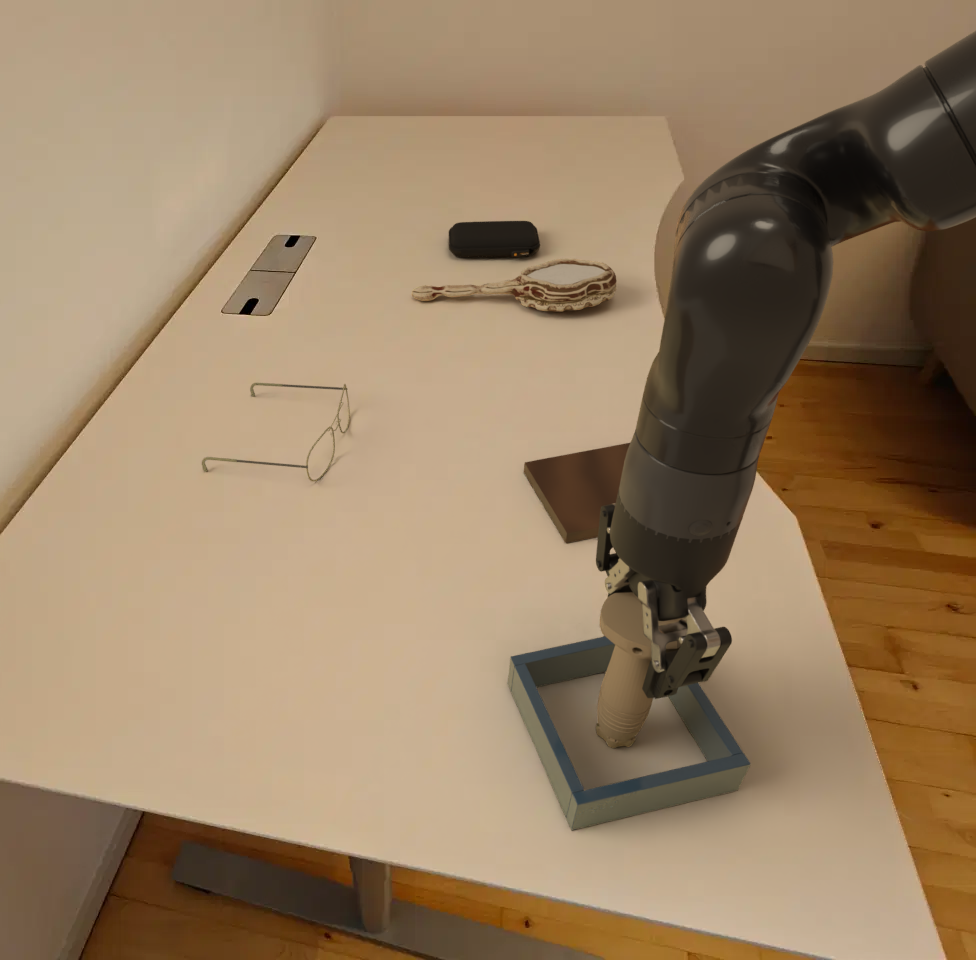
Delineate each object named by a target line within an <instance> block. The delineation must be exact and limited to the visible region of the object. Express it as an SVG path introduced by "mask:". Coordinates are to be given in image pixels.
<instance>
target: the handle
mask: <svg viewBox="0 0 976 960" xmlns="http://www.w3.org/2000/svg"><path fill="white" fill-rule="evenodd" d="M607 597H608V596H607ZM680 619H681V618H679V619H674V620H668V621H658V622H659V626H660V625H665V624H670V623H674V622H678V621H679V620H680ZM599 628H600V632H601V633H602V635H603V637H604V636H606V637H607V638H608V639H609V640H610V641H611V642H613V643H614V644H615V647H614V651H613V654H612V657H611V660H610V663H609V665H608V668H607V671H606V672H604V673H605V674H604V676H603V679H602V682H601V685H600V690H599V693H598V698H597V706H596V707H597V710H596V716H597V722H596V725H595V730H596V735H597V736H598V737H600V738H602V739H603V740H604V741H605V742H606V744H607V747H610V748H612V749H616V748H618V747H627V748H628V747H632V746H633V744H634V743H635V741H636V740H637V737H636V736H637V735H638V734H639V733H640V731H641V730H642V728H643V727H644V724H645V722H646V721H647V718H648V716H649V713H650V711H651V707H652V705H653V701H654V698H647V696H646V695H645V693H644V691H643V690H642V687H643V683H644V680H645V677H646V673H647V670H648V666H649V663H650V661H652V659H651V641H650V640H649V639H647V638H646V637H645V636H644V633H643V614H642V604H641V602H640V601H639V599H638V598H637V597H636V595H635V594H634V593H633V592H630V593H614V594H612V595H610V596H609V597H608V598H606V599H605V600H604V602H603V604H602V606H601V610H600V615H599ZM676 650H677V641H673V642H669V643H668V644H667V645H666V653H667V652H671V651H676Z"/></svg>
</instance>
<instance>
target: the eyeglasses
mask: <svg viewBox="0 0 976 960" xmlns="http://www.w3.org/2000/svg"><path fill="white" fill-rule="evenodd" d="M256 386H263V387H280V388H281V387H282V388H283V387H284V388H301V389H302V388H303V389H319V390H335V391H336V390H338V391H342V392H341V396H340V399H339V403H338V406H337V413H336V414H335V417H334V419H333V421H332V423H331V425H330V426H328V427H327V428H326V429H324V431H323V432H322V433H321V435H320V436H319V437H318V439H316V440H315V442H314V443H313V444H312V446H311V448H310V449H309V451H308V453H307V456H306V460H305V465H303V464H302V465H301V464H290V463H279V462H267V461H258V460H257V461H255V460H243V459H237V458H225V457H213V456H206V457H203V458H202V460H201V467H202V471H203V472H208V471H209V470H208V467H207V465H206V461H218V462H228V463H229V462H230V463H244V464H252V465H253V464H255V465H265V466H278V467H289V468H298V469H299V468H301V469H305V470H306V475H307V478H308V480H309V481H310V482H317V481H319V480H320V479H321V478H322V477H323V476H324V475H325V474H326V473H327V471H328V470H329V468H330V466H331V465H332V462H333V460H334V457H335V452H336V441H335V440H336V439H335V431H337V429H338V428H339V431H340V433H341V434H345V433H346V432H347V431H348V428H349V426H350V420H351V419H350V418H351V411H350V410H351V409H350V401H349V394H348V387H347V385H346V383H344V384H343V386H342V387H339V386H338V387H337V386H322V385H321V386H319V385H301V384H299V385H298V384H285V383H274V382H272V383H271V382H253V383H252V384H251V385H250V388H249V391H250V396H251V397H253V398H255V397H256V393H255V391H254V387H256ZM344 393H345V394H346V401H347V412H348V415H347V416H348V418H347V424H346V428H345V429H344V430H343V429H342V426H341V421H342V418H340V412H341V410H342V408H343V405H344V402H343V398H344ZM336 419H337V420H336ZM334 423H335V425H336V428H335V429H334V428H333V426H334ZM329 431H331V432H330V435H332V444H333V445H332V455H331V458H330V460H329V463H328V466H327V467H326V468H325V470H324V471H323V473H322V474H321V475H320V476H318V478H316V479H312V478H311V476H310V473H309V459H310V456H311V453H312V451H313V450H314V447H315V446H316V445H317V443H319V441H320V440H321V439H322V438H323V436H324V435H325V434H326V433H327V432H329Z"/></svg>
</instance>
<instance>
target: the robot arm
mask: <svg viewBox="0 0 976 960" xmlns="http://www.w3.org/2000/svg"><path fill="white" fill-rule="evenodd" d="M923 64H924V67H923V65H921V64H919V65H917V66H916V67H914V68H912V69H911V70H909V71H908V72H907V73H905V74H904V75H902V76H900V77H899V78H898V79H896V80H895V81H893V82H892V83H891V84H889V85H887V86H886V87H884V88H882V89H881V90H879V91H876V93H873V94H871V95H868V96H867V97H864V98H862V99H859V100H857V101H854V102H852V103H849V104H846V105H844V106H840V107H838V108H835V109H833V110H830V111H828V112H826V113H823V114H822V115H819V116H817V117H815V118H813V119H811V120H808V121H806V122H804V123H802V124H801V123H800V125H797V126H795V127H793V128H790V129H788V130H786V131H784V132H781V133H779V134H777V135H775V136H772V137H771V138H768V139H766V140H764V141H762V142H760V143H758V144H756V145H755V146H752V147H751V148H749V149H747V150H745V151H744V152H742V153H740V154H738V155H737V156H735V157H734V158H732V159H730V160H729V161H727V162H726V163H724V164H723V165H722V166H720V167H719V168H718V169H716V170H715V171H714V172H713V173H711V174H710V175H709V176H707V177H706V178H705V179H704V180H703V181H701V183H700V184H698V186H697V187H696V188H695V189H694V190H693V192H692V193H691V194H690V195H689V196H688V198H687V199H686V201H685V203H684V204H683V207H682V209H681V210H680V212H679V215H678V218H677V223H676V227H675V238H674V247H673V248H674V249H673V259H672V267H671V275H670V282H669V289H668V296H667V302H666V308H665V315H664V320H663V321H664V322H663V326H662V332H661V338H660V343H659V349H658V352H657V354H656V356H655V357H654V359H653V361H652V363H651V366H650V368H649V371H648V374H647V376H646V380H645V384H644V390H643V393H642V397H641V401H640V407H639V411H638V416H637V421H636V426H635V429H634V433H633V435H632V438H631V440H630V442H629V443H630V445H629V447H628V450H627V454H626V457H625V461H624V466H623V471H622V476H621V480H620V485H619V490H618V494H617V499H616V503H613V504H609V505H604V506H601V510H600V520H599V531H598V537H597V543H596V552H595V565H596V568H597V570H598V571H599V572H601V573H602V572H605V574H606V576H607V577H606V578H605V579H604V587H605V590H606V592H607V598H608V597H609V596H610V595H612V594H614V593H630V592H633V593H634V594H635V595H636V597H637V598H638V599H639V601H640V602H641V604H642V614H643V633H644V636H645V637H646V638H647V639H649V640H650V641H651V659H652V661H650V663H649V666H648V670H647V673H646V677H645V680H644V683H643V687H642V690H643V691H644V693H645V695H646V696H647V698H653V699H655V700H657V699H662V698H668V697H669V696H672V695H674V694H676V693H677V690H678V687H682V686H686V685H691V684H695V683H699V684H700V683H703V682H704V683H705V682H708V681H709V679H710V678H711V677H712V675H713V673H714V671H715V670H716V669H717V667H718V665H719V664H720V662H721V661H722V659H723V658H724V657H725V654H726V653H727V651H728V650H729V649H730V647H731V645H732V642H733V638H732V634H731V632H730V630H729V629H728V628H727V627H726V626H720V627H715V628H714V627H713V625H712V623H711V621H710V620H709V618H708V616H707V615H706V613H705V609H706V607H707V602H708V601H707V600H708V599H707V586H708V585H709V583H710V582H711V581H712V580H713V579H714V578H715V577H716V576H717V575H718V574H719V573H720V572H722V570H723V569H724V567H725V566H726V564H727V563H728V560H729V558H730V555H731V552H732V549H733V546H734V544H735V541H736V537H737V535H738V533H739V530H740V527H741V523H742V520H743V518H744V516H745V512H746V509H747V506H748V504H749V502H750V498H751V495H752V492H753V489H754V487H755V481H756V478H757V477H756V476H757V470H758V463H759V458H760V454H761V452H762V449H763V447H764V443H765V440H766V437H767V434H768V432H769V429H770V426H771V423H772V421H773V416H774V413H775V410H776V408H777V407H776V406H777V403H778V398H779V393H780V392H781V390H782V389H783V388H784V387H785V385H786V384H787V382H788V381H789V379H790V377H791V376H792V373H793V372H794V371H795V369H796V367H797V365H798V364H799V361H800V360H801V358H802V356H803V355H804V353H805V352H806V349H807V348H808V346H809V344H810V343H811V340H812V338H813V336H814V334H815V332H816V330H817V327H818V325H819V323H820V321H821V318H822V315H823V312H824V310H825V306H826V303H827V300H828V295H829V293H830V290H831V285H832V279H833V271H834V253H833V247H834V246H836V245H839V244H841V243H843V242H846V241H848V240H851V239H853V238H856V237H859V236H861V235H864V234H867V233H869V232H871V231H874V230H877V229H879V228H883V227H885V226H887V225H891V224H894V223H900V222H902V223H904V224H905V225H907V226H908V227H910V228H911V229H912V228H913V229H915V230H918V231H923V232H939V231H943V230H946V229H949V228H952V227H955V226H958V225H961V224H963V223H966V222H969V221H971V220H972V219H975V218H976V30H975V31H973V32H971V33H970V34H968V35H966V36H964V37H963V38H960V40H958V41H957V42H955V43H953V44H952V45H950V46H949V47H946V48H945V49H943V50H942V51H940V52H937V54H935V55H933V56H932V57H930V58H928V59H927V60H926V61H924V63H923ZM612 549H613V550H614V553H611V550H612ZM607 598H606V599H607ZM679 618H681V619H680V620H679V621H678V622H674V623H670V624H665V625H660V626H659V622H658V621H668V620H674V619H679ZM673 641H677V650H676V651H671V652H667V653H666V645H667V644H668V643H669V642H673Z"/></svg>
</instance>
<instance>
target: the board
mask: <svg viewBox="0 0 976 960" xmlns="http://www.w3.org/2000/svg"><path fill="white" fill-rule="evenodd" d="M629 445H630V442H626V443H619V444H615V445H610V446H609V445H608V446H605V447H599V448H595V449H588V450H583V451H577V452H573V453H567V454H562V455H556V456H551V457H546V458H541V459H535V460H531V461H525V462H524V465H523V474H524V476H525V477H526V479H527V481H528V482H529V484H530V486H531V488H532V489H533V491H534V493H535V495H536V496H537V498H538V499H539V501H540V503H541V505H542V506H543V508H544V510H545V512H546V513H547V514H548V516H549V518H550V520H551V521H552V523H553V524H554V526H555V528H556V529H557V532H558V533H559V535H560V536H561V538H562V540H563V541H564V543H565V544H570V543H574V542H580V541H584V540H589V539H594V538H598V531H599V520H600V510H601V506H604V505H609V504H613V503H616V499H617V494H618V490H619V485H620V480H621V476H622V471H623V466H624V461H625V457H626V454H627V450H628V447H629Z"/></svg>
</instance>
